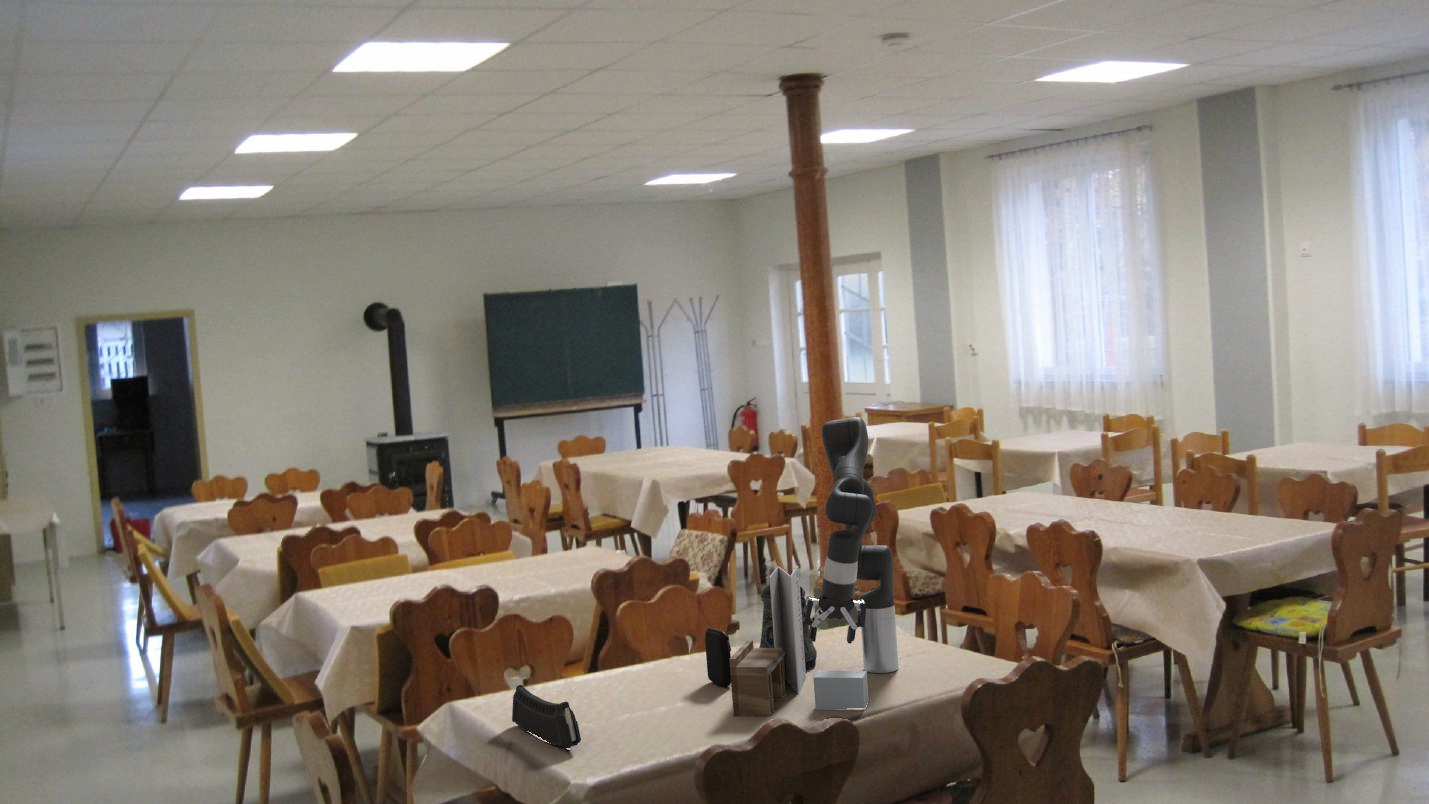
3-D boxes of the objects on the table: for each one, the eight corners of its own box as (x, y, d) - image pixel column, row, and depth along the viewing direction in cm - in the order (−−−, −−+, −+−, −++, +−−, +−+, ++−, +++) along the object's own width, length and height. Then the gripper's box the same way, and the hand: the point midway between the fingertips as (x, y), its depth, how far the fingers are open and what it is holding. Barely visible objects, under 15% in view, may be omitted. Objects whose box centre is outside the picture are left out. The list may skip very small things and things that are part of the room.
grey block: (820, 702, 302) (818, 670, 302) (868, 703, 299) (866, 670, 298) (815, 710, 296) (813, 677, 296) (864, 710, 293) (862, 677, 293)
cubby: (751, 694, 313) (747, 640, 312) (787, 694, 310) (783, 640, 310) (733, 716, 296) (729, 658, 295) (771, 716, 293) (767, 658, 293)
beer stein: (778, 655, 350) (772, 568, 349) (837, 661, 339) (831, 572, 338) (746, 670, 337) (739, 580, 336) (806, 677, 325) (800, 584, 324)
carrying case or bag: (737, 688, 320) (733, 632, 319) (727, 690, 318) (723, 634, 317) (715, 680, 329) (711, 625, 328) (705, 682, 327) (702, 628, 326)
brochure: (799, 693, 311) (790, 576, 309) (777, 693, 312) (769, 577, 311) (806, 678, 325) (798, 565, 323) (785, 678, 326) (777, 566, 324)
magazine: (505, 688, 302) (555, 674, 278) (517, 685, 304) (568, 671, 279) (518, 758, 298) (570, 751, 274) (531, 755, 300) (583, 747, 276)
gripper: (866, 571, 285) (857, 635, 289) (806, 568, 284) (798, 632, 288) (873, 584, 278) (864, 650, 282) (812, 581, 276) (803, 646, 280)
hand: (830, 641), depth 285 cm, fingers open, 8 cm apart
